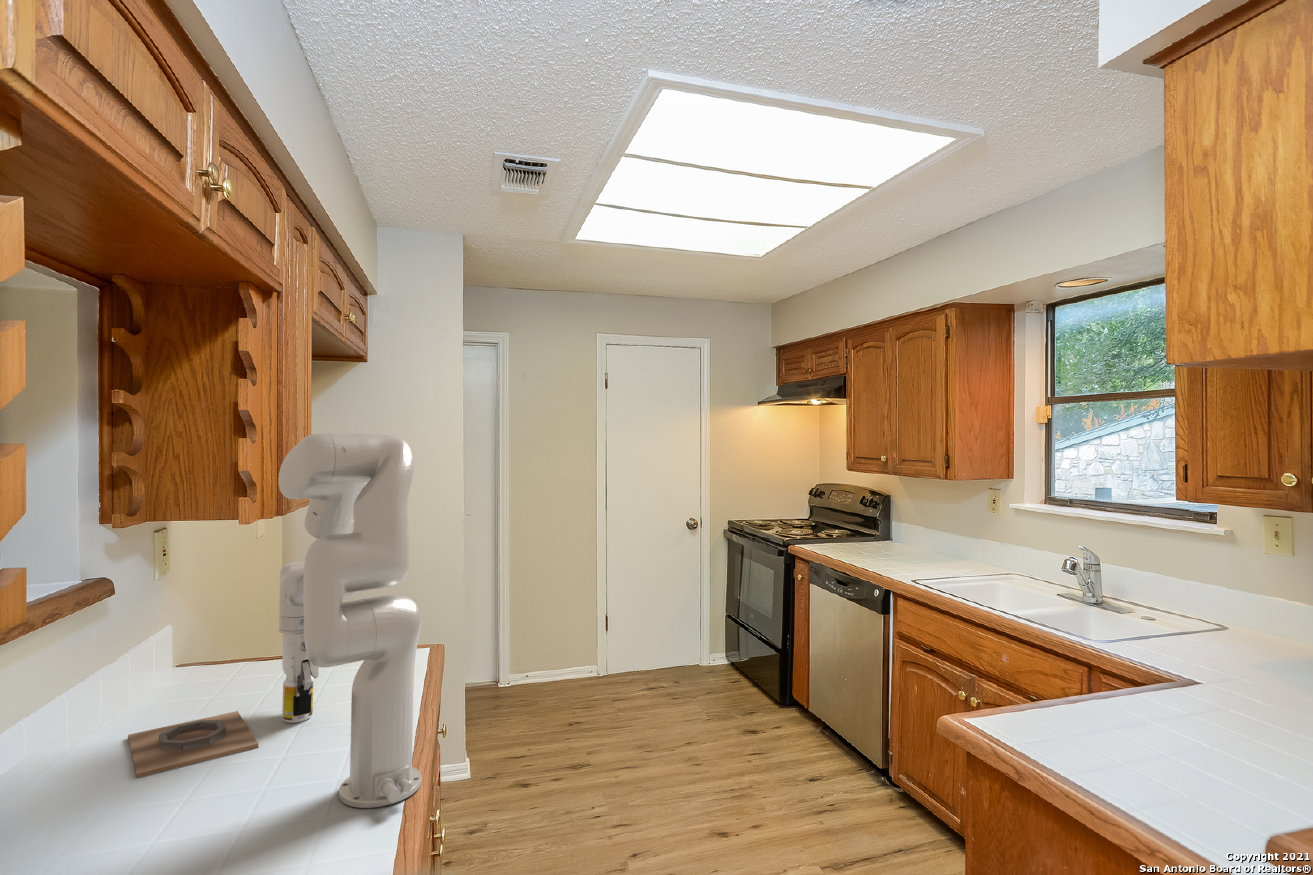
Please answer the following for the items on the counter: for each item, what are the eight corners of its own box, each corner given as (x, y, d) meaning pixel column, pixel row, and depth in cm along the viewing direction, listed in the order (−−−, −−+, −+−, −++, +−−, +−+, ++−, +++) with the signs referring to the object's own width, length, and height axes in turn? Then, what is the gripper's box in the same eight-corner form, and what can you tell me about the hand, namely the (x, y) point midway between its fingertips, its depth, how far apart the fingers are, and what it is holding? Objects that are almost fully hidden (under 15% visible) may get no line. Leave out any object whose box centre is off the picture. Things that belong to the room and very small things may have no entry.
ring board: (258, 747, 124) (258, 735, 124) (136, 778, 112) (136, 764, 112) (237, 714, 139) (237, 703, 139) (127, 738, 127) (128, 726, 127)
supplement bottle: (315, 719, 137) (316, 669, 138) (285, 726, 134) (286, 675, 134) (309, 711, 142) (310, 662, 142) (279, 717, 138) (280, 668, 138)
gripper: (331, 627, 134) (329, 717, 134) (308, 611, 147) (306, 693, 147) (290, 634, 129) (288, 727, 129) (269, 616, 142) (267, 701, 142)
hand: (297, 708), depth 138 cm, fingers open, 5 cm apart
